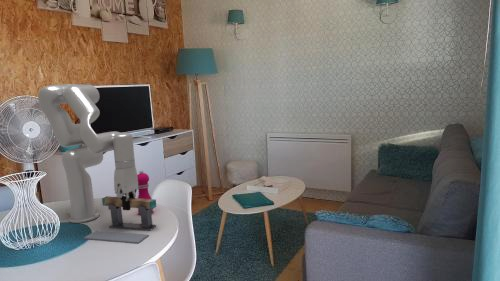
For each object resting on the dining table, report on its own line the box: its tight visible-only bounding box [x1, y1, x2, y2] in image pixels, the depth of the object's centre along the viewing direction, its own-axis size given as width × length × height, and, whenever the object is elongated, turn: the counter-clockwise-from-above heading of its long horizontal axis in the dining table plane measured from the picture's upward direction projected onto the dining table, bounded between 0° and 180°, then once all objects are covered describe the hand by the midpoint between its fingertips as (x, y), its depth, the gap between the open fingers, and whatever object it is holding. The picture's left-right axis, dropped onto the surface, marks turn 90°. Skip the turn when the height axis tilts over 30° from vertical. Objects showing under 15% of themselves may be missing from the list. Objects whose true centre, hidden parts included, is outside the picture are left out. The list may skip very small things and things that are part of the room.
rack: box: [107, 204, 157, 232], centre depth 155 cm, size 19×5×10 cm, turn 73°
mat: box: [83, 230, 150, 245], centre depth 146 cm, size 24×7×1 cm, turn 73°
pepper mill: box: [137, 169, 154, 216], centre depth 171 cm, size 7×7×20 cm
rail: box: [101, 196, 157, 210], centre depth 155 cm, size 23×3×3 cm, turn 73°
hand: (129, 207), depth 155 cm, fingers closed on rail, 3 cm apart
